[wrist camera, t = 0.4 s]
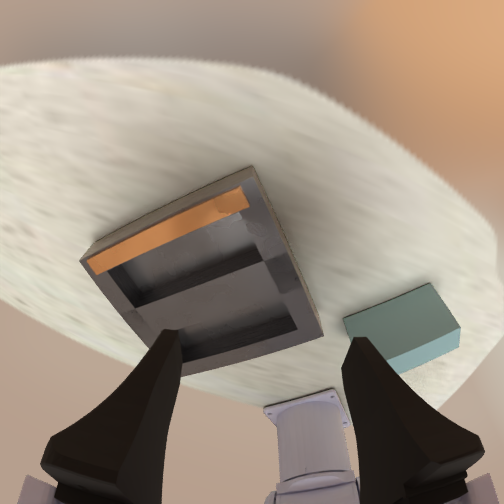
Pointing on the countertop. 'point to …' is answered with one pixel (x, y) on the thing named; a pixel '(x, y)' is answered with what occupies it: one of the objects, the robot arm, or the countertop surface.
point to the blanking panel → (408, 328)
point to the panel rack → (208, 276)
